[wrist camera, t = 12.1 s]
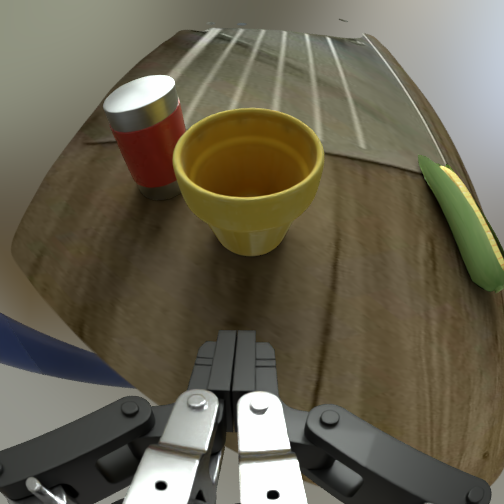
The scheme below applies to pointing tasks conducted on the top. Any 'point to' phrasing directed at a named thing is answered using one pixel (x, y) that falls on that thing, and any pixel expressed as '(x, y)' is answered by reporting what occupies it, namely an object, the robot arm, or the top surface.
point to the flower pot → (248, 175)
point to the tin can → (148, 132)
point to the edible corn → (467, 226)
